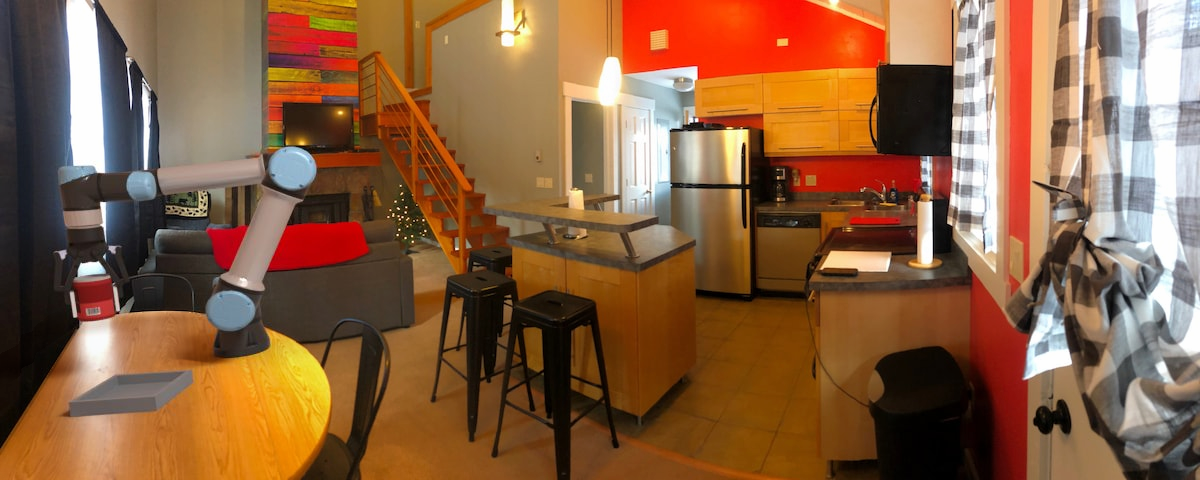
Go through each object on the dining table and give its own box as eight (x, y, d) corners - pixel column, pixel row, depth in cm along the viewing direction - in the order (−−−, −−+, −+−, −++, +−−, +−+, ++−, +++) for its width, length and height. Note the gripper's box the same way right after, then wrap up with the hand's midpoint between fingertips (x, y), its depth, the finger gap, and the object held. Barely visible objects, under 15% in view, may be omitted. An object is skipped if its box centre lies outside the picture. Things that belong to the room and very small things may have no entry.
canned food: (123, 315, 166) (118, 274, 164) (91, 323, 158) (84, 280, 157) (104, 312, 168) (98, 272, 167) (70, 320, 161) (64, 279, 159)
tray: (193, 382, 164) (191, 369, 163) (156, 410, 146) (155, 396, 146) (117, 387, 161) (115, 374, 160) (70, 417, 143) (68, 402, 143)
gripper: (134, 221, 169) (145, 303, 173) (30, 229, 156) (44, 317, 160) (136, 223, 163) (147, 308, 167) (28, 232, 150) (43, 323, 154)
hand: (97, 313), depth 163 cm, fingers closed on canned food, 8 cm apart
